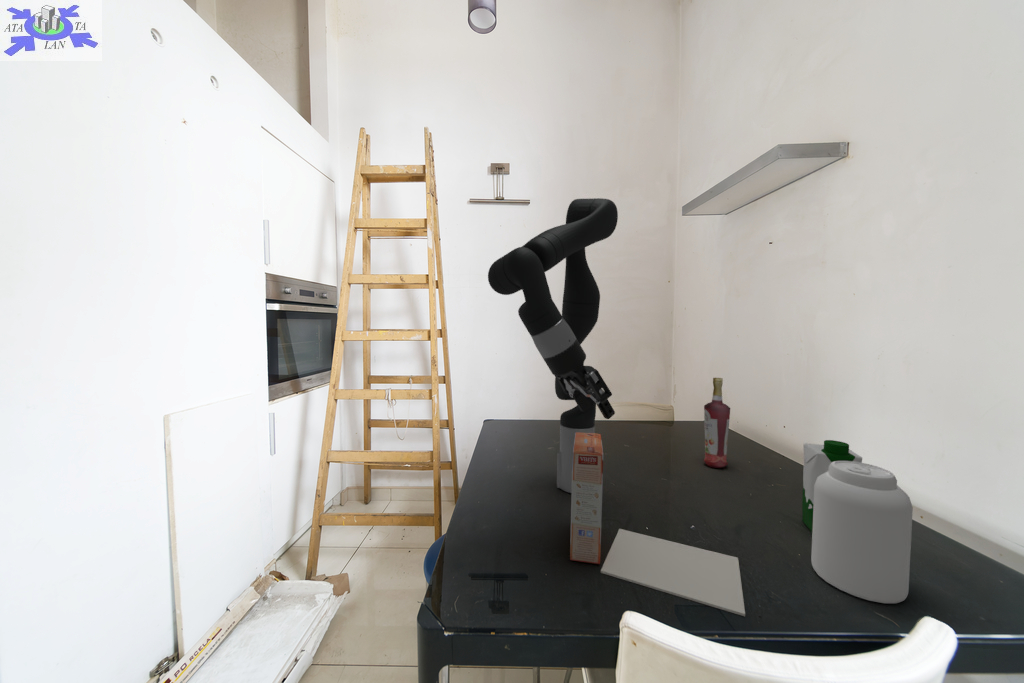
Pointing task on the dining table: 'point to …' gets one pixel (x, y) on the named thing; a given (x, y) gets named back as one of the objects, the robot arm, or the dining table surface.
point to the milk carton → (820, 470)
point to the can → (862, 531)
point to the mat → (677, 570)
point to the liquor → (716, 428)
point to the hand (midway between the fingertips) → (597, 412)
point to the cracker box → (586, 498)
